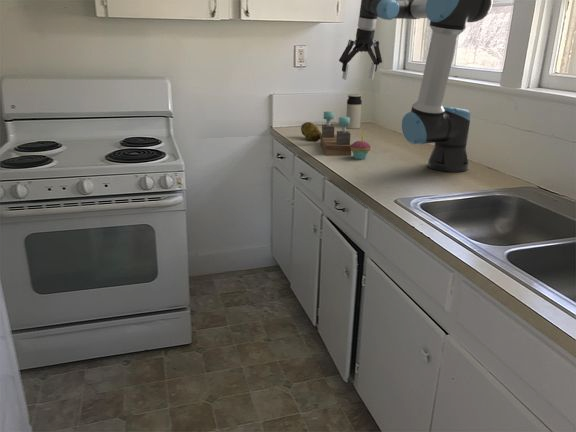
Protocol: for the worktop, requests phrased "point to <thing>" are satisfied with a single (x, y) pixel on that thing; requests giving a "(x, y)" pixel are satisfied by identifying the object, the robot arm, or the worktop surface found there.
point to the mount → (335, 141)
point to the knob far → (328, 117)
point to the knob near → (344, 123)
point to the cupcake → (360, 148)
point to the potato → (310, 131)
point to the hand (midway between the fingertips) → (357, 79)
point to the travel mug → (354, 110)
